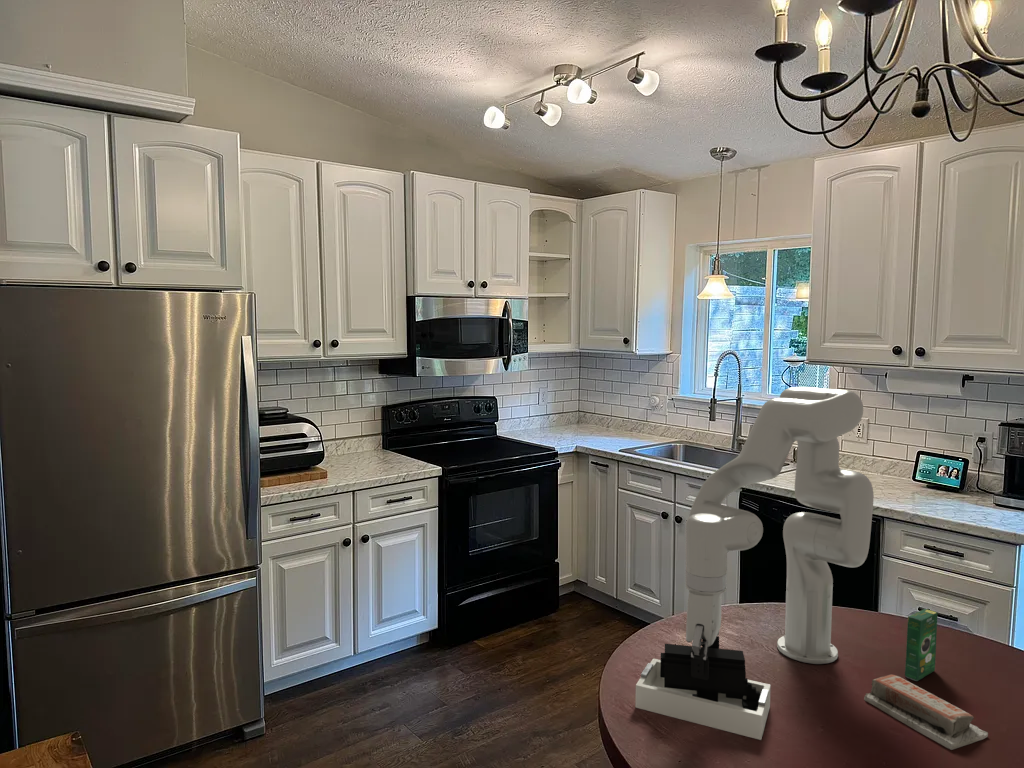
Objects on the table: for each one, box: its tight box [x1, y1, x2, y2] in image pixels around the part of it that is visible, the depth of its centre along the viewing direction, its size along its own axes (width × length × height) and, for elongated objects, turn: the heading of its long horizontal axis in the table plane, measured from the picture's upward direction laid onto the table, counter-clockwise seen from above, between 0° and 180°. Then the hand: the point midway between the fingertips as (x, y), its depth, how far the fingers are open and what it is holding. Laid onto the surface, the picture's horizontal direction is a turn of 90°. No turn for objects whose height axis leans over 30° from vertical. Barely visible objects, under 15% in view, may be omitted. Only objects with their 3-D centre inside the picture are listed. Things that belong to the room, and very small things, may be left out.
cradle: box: [634, 658, 772, 741], centre depth 132 cm, size 12×23×5 cm, turn 63°
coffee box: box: [904, 608, 939, 682], centre depth 144 cm, size 8×3×13 cm, turn 125°
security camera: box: [660, 643, 760, 711], centre depth 132 cm, size 7×18×10 cm, turn 78°
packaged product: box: [863, 674, 989, 751], centre depth 128 cm, size 18×5×10 cm
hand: (705, 665), depth 132 cm, fingers open, 9 cm apart
